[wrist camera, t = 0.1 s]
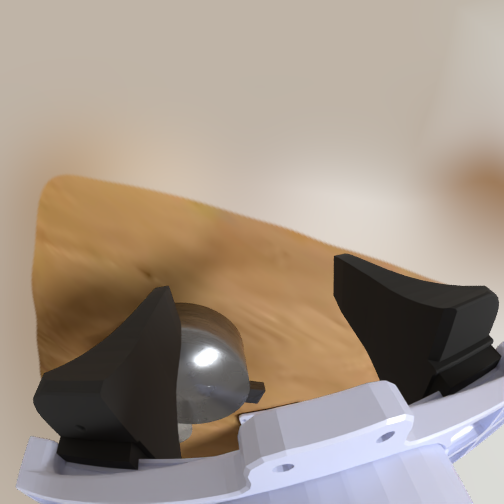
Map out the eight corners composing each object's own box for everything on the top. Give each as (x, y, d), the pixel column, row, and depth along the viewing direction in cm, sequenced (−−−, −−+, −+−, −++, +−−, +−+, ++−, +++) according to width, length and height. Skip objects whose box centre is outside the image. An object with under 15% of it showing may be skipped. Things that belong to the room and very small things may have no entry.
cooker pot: (275, 321, 26) (288, 360, 21) (237, 395, 30) (242, 431, 25) (119, 284, 22) (102, 320, 18) (111, 369, 26) (101, 405, 22)
